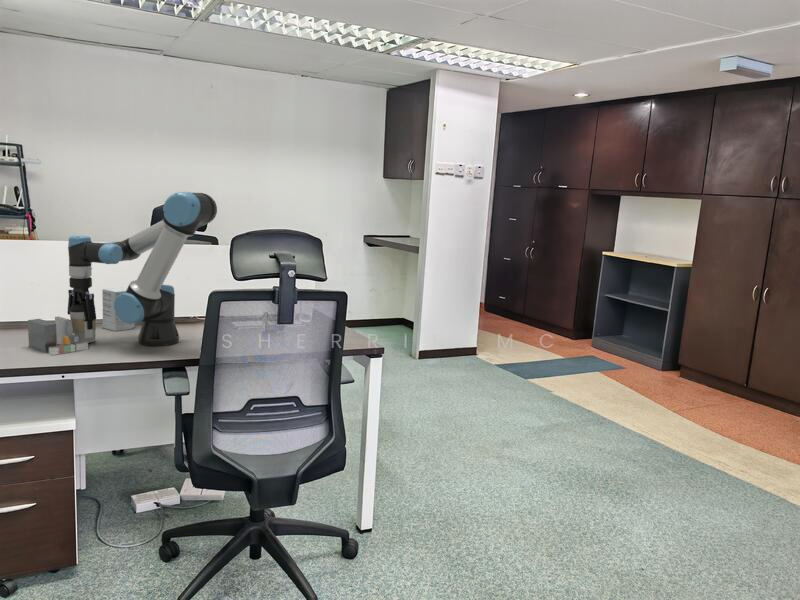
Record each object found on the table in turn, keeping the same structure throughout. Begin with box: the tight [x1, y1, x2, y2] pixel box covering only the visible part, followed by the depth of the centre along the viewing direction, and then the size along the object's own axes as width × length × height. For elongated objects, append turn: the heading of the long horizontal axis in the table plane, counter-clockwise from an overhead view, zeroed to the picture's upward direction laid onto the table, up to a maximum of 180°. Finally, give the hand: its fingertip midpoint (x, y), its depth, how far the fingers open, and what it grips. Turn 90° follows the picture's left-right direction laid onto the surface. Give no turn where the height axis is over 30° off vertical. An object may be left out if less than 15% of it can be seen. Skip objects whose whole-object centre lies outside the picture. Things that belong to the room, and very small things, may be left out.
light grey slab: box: [54, 315, 79, 345], centre depth 226 cm, size 14×2×10 cm, turn 56°
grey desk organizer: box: [27, 318, 89, 356], centre depth 223 cm, size 17×13×10 cm
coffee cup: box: [69, 304, 97, 344], centre depth 233 cm, size 9×9×15 cm
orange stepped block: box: [62, 336, 70, 345], centre depth 219 cm, size 3×1×3 cm, turn 56°
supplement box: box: [101, 287, 136, 332], centre depth 259 cm, size 10×9×17 cm
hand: (82, 335), depth 233 cm, fingers closed on coffee cup, 9 cm apart
